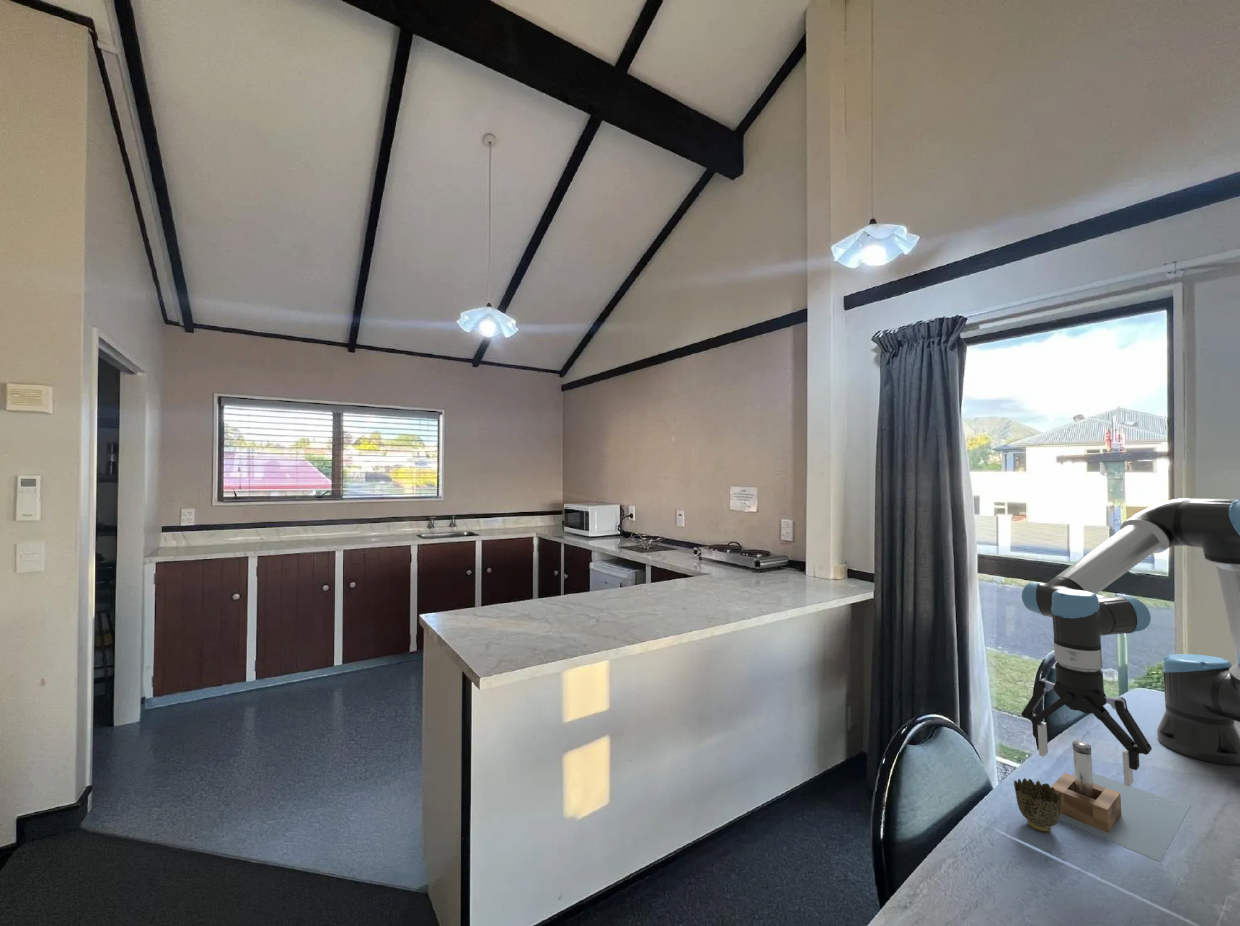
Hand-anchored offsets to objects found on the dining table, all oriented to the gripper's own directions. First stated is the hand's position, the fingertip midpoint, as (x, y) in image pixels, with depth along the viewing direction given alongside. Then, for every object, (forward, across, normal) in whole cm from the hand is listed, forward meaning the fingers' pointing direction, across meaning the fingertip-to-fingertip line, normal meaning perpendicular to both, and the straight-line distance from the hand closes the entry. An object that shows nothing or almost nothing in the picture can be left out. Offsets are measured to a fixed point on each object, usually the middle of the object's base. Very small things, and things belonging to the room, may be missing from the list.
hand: (1084, 768), depth 107 cm
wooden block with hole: (+9, 0, 0) cm, 9 cm away
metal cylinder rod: (+9, 0, 0) cm, 9 cm away
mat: (+10, +3, +6) cm, 12 cm away
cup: (+10, -4, -13) cm, 17 cm away
